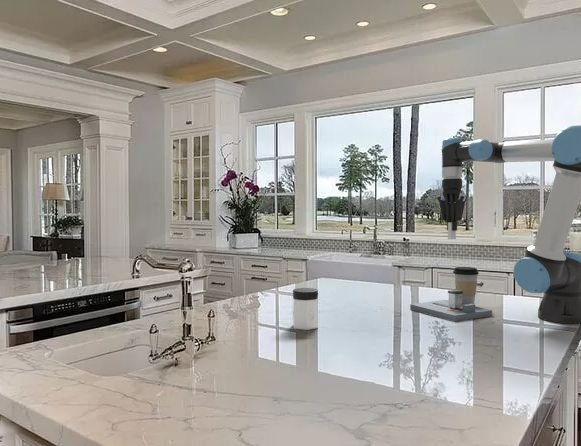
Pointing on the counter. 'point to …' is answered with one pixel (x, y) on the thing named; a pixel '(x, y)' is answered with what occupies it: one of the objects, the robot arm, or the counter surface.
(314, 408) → the counter surface
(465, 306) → the console
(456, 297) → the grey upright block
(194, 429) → the counter surface
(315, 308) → the jar
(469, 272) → the coffee cup
